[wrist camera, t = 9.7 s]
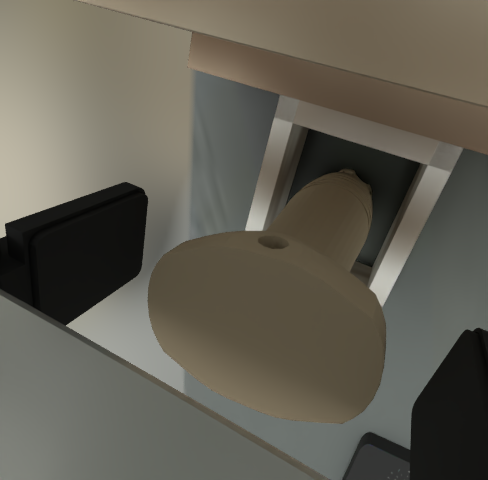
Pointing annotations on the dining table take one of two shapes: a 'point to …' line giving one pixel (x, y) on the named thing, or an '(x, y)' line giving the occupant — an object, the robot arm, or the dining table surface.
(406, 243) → the wooden wall shelf
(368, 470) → the smart home device
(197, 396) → the dining table surface
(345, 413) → the handle
